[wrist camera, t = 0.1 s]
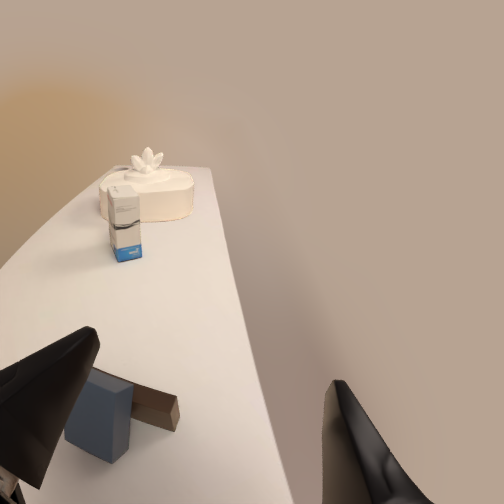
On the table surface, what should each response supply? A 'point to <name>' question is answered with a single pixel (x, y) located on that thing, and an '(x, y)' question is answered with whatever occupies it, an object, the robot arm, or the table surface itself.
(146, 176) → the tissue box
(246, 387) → the table surface
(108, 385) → the slate block
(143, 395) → the walnut rail
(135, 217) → the ink box
